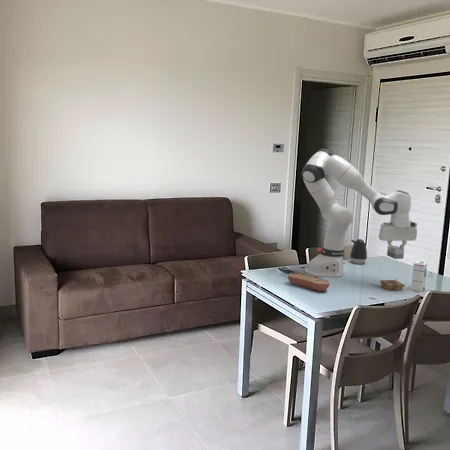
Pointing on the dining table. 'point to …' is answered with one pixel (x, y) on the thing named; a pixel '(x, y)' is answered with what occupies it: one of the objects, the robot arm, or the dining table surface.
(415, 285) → the syrup box
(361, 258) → the black kettle
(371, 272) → the dining table surface
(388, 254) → the housing
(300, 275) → the bread loaf
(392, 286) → the stand
